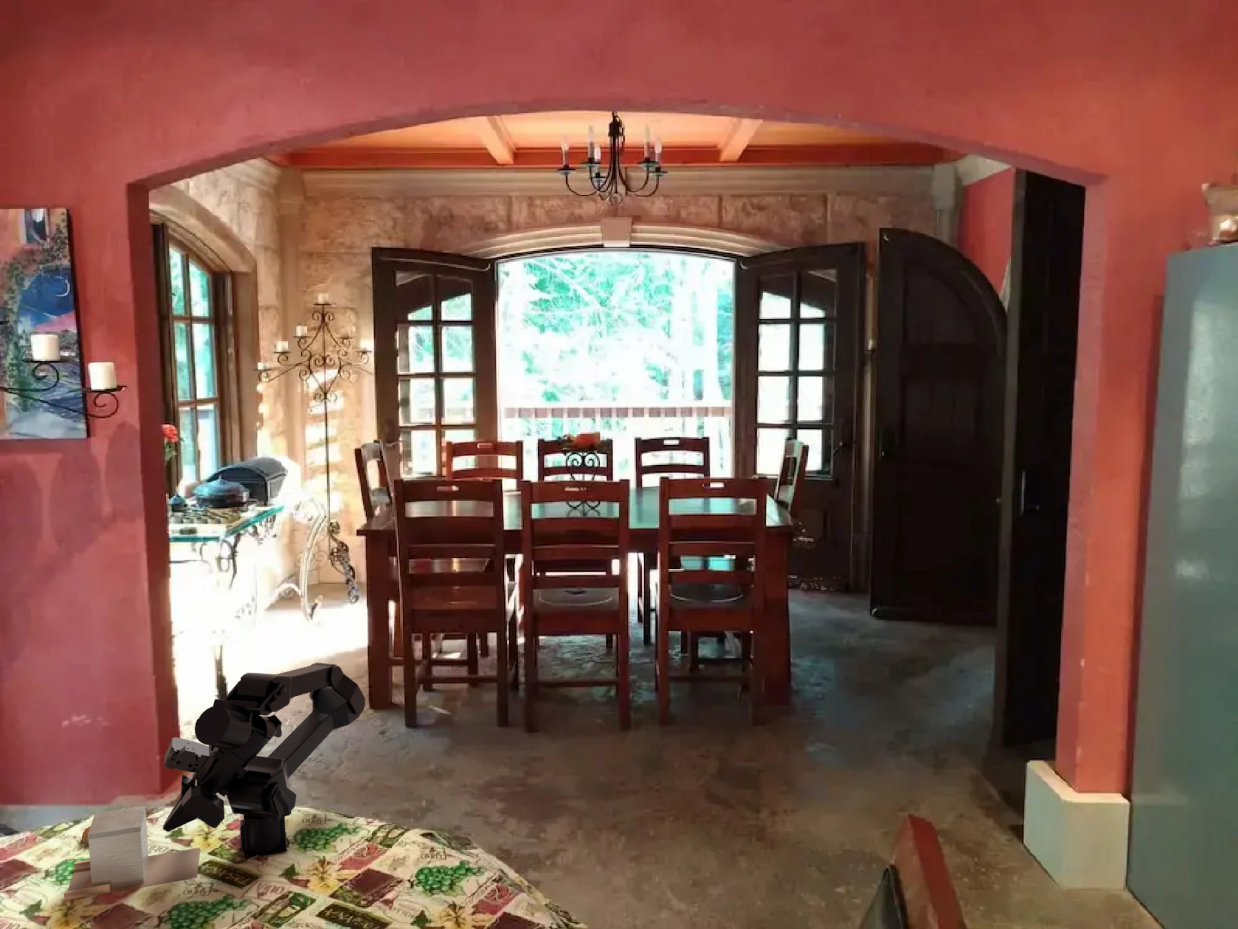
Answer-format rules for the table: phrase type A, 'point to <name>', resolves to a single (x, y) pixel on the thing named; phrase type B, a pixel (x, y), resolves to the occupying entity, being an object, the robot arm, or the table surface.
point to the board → (157, 872)
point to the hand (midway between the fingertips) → (165, 829)
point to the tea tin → (118, 847)
